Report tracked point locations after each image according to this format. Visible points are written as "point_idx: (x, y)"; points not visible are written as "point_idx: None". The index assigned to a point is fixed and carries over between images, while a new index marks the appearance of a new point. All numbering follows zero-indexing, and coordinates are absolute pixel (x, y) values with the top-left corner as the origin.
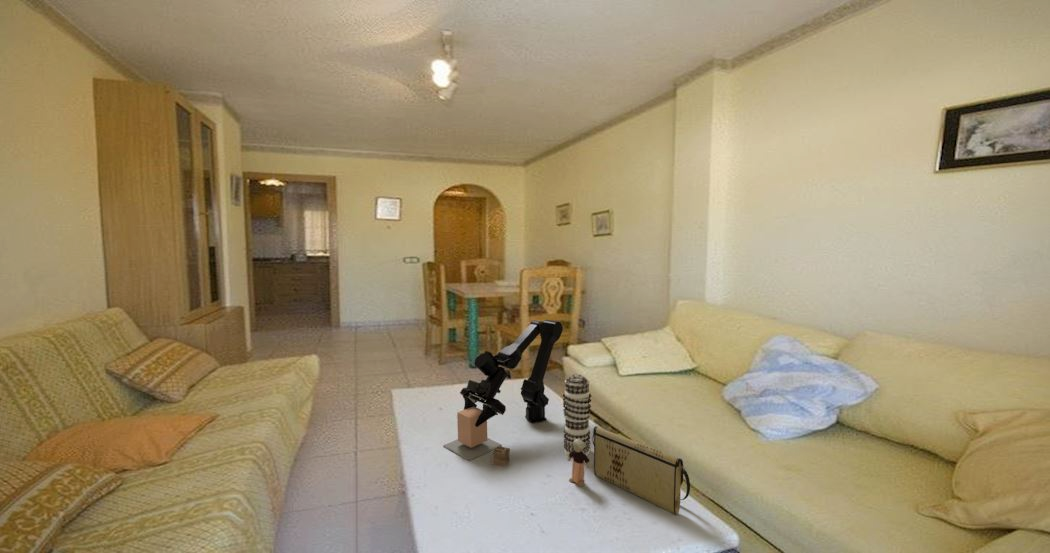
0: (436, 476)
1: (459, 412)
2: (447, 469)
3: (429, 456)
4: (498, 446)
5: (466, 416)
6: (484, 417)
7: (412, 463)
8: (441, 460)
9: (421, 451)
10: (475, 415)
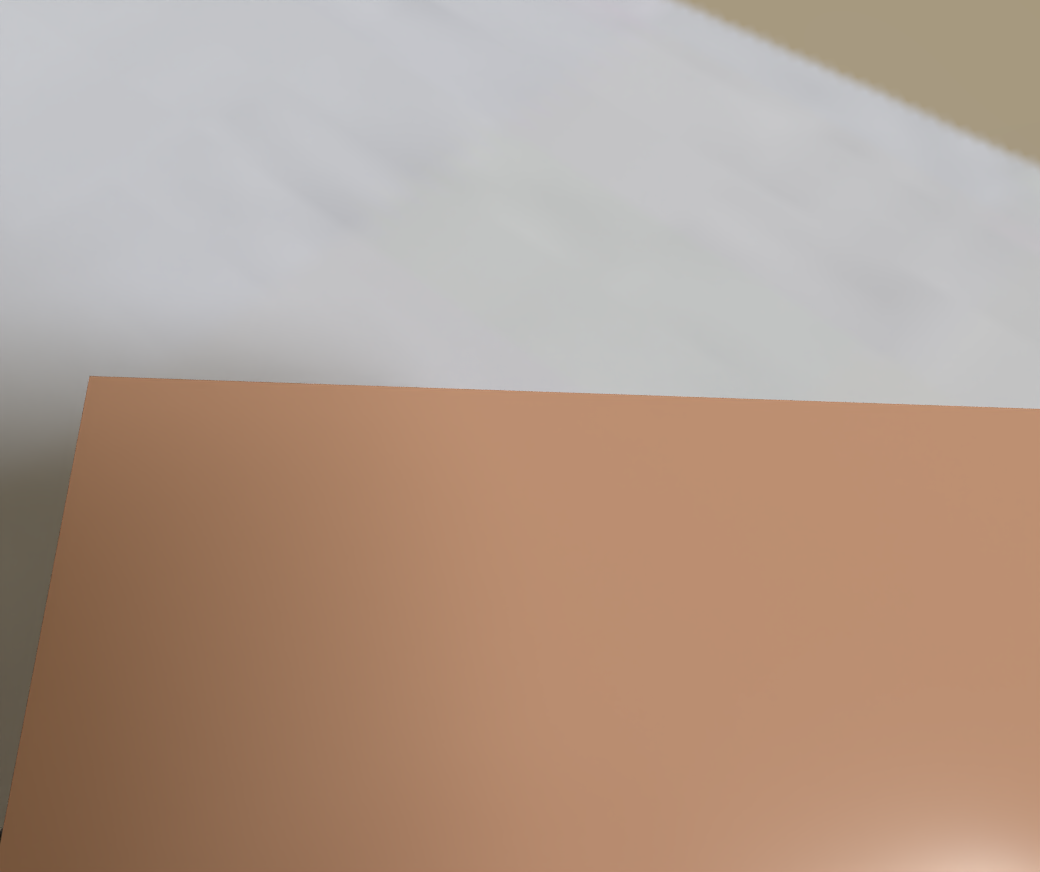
0: (224, 5)
1: (1033, 460)
2: (242, 150)
3: (674, 198)
4: None
5: (405, 387)
6: None
7: (659, 15)
8: (481, 228)
9: (851, 210)
10: (91, 818)
